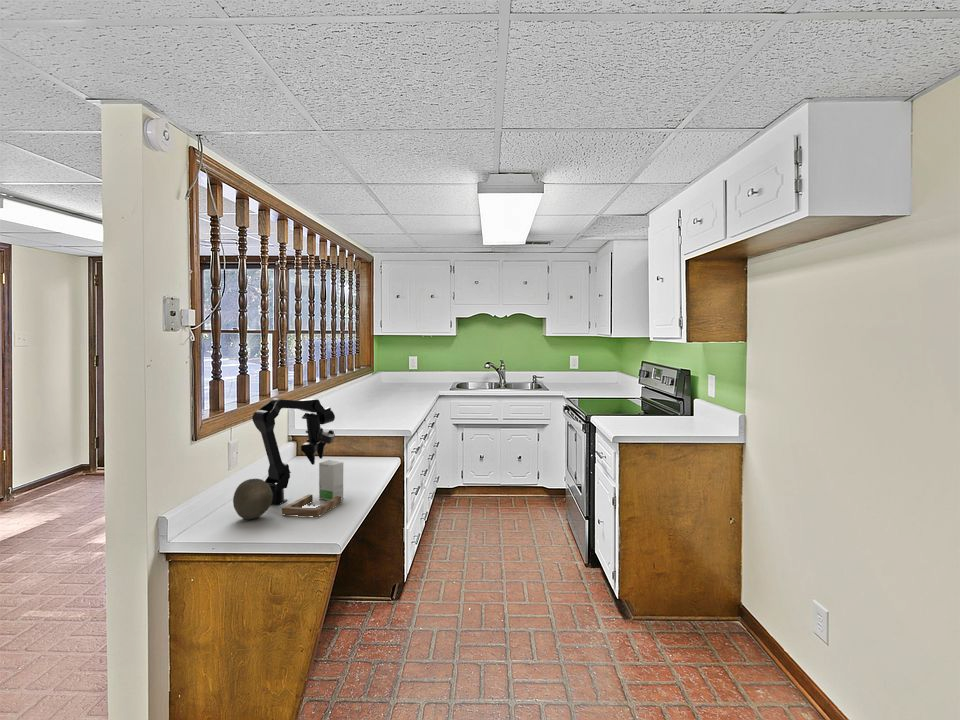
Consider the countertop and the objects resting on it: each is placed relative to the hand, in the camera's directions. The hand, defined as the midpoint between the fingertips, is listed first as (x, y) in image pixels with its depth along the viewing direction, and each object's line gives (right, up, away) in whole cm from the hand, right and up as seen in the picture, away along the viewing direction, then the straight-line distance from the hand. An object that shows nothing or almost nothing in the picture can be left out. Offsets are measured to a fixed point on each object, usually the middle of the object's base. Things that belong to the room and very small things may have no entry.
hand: (317, 461), depth 272 cm
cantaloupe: (-14, -15, -39) cm, 44 cm away
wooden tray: (+6, -14, -28) cm, 32 cm away
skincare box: (+10, -14, -13) cm, 22 cm away
